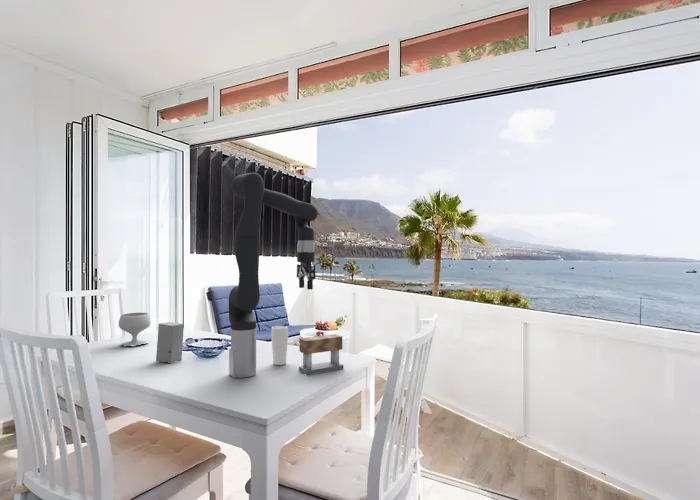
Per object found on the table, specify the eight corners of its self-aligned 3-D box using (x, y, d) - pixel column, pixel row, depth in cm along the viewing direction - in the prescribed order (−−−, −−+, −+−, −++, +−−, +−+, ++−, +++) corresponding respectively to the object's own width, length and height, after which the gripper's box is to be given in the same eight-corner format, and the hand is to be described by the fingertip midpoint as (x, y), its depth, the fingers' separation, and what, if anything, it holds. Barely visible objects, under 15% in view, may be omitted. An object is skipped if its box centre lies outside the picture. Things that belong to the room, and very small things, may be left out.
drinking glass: (284, 366, 163) (284, 329, 163) (268, 365, 165) (268, 328, 165) (290, 362, 170) (290, 326, 170) (275, 361, 171) (275, 325, 171)
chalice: (130, 341, 210) (130, 312, 210) (156, 341, 208) (156, 312, 209) (111, 347, 196) (112, 316, 196) (139, 348, 195) (139, 316, 195)
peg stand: (306, 374, 152) (306, 354, 152) (298, 370, 158) (298, 350, 158) (343, 368, 160) (343, 349, 160) (334, 364, 166) (335, 346, 166)
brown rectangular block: (305, 354, 153) (305, 341, 153) (299, 351, 158) (299, 338, 158) (342, 349, 161) (342, 336, 161) (335, 346, 166) (335, 334, 166)
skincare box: (155, 361, 170) (155, 323, 170) (169, 357, 177) (169, 321, 177) (171, 363, 167) (171, 325, 167) (184, 359, 174) (184, 322, 174)
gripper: (291, 251, 181) (291, 287, 181) (304, 251, 169) (304, 290, 169) (306, 251, 185) (306, 287, 185) (321, 251, 173) (320, 289, 173)
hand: (305, 288), depth 177 cm, fingers open, 8 cm apart
